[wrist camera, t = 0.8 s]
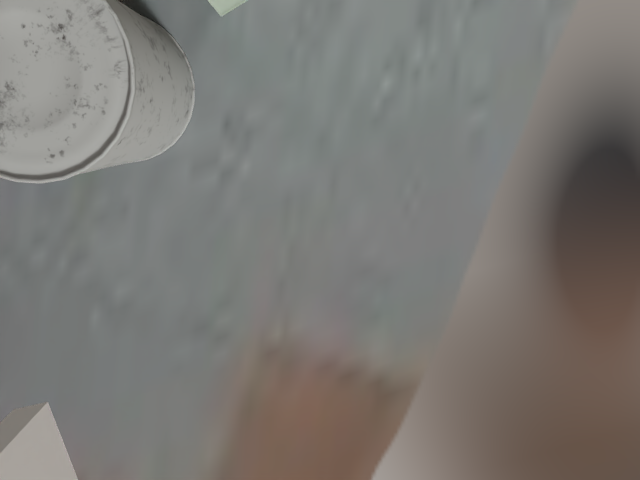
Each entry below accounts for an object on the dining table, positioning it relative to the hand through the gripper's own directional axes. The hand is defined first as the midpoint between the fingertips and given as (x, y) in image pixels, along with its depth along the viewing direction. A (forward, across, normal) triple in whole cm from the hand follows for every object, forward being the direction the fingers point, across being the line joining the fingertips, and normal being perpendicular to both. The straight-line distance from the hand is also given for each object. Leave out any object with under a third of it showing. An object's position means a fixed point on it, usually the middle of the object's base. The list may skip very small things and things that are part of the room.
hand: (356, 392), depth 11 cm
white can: (+26, -11, +10) cm, 30 cm away
